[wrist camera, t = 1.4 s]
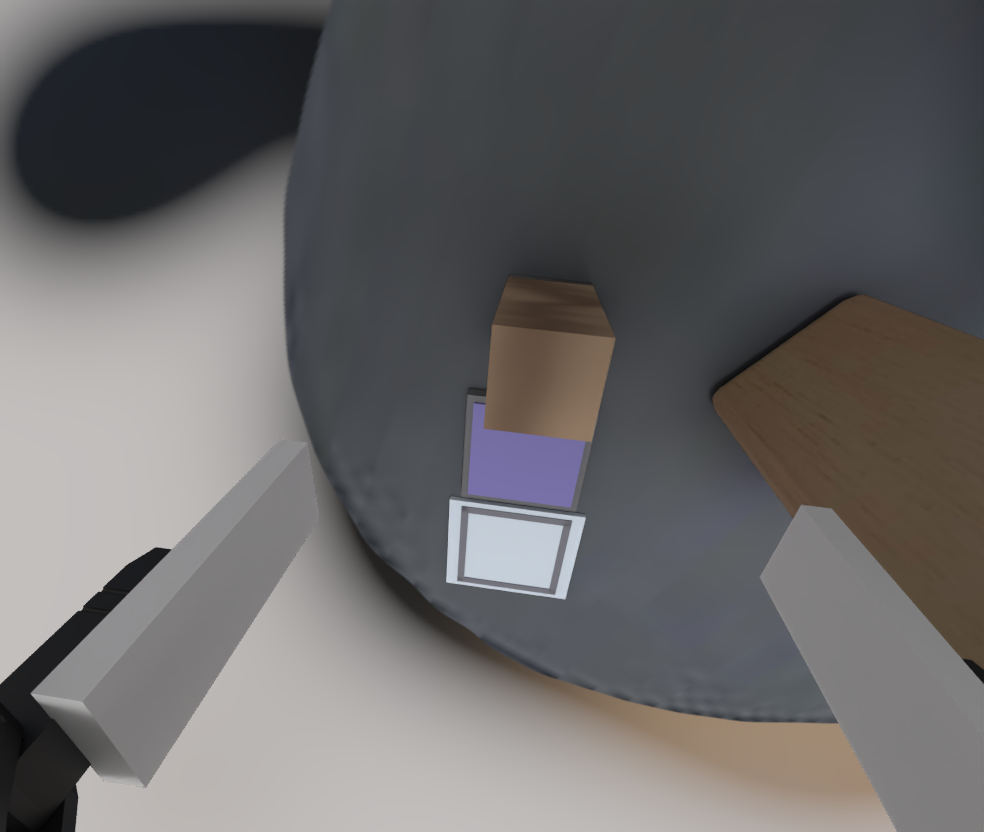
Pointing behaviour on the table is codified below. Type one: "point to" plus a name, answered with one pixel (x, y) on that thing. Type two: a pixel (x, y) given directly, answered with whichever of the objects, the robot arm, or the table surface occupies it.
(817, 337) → the wooden block
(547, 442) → the ink pad
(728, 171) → the table surface
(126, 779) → the robot arm
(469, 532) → the print card
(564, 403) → the stamp
